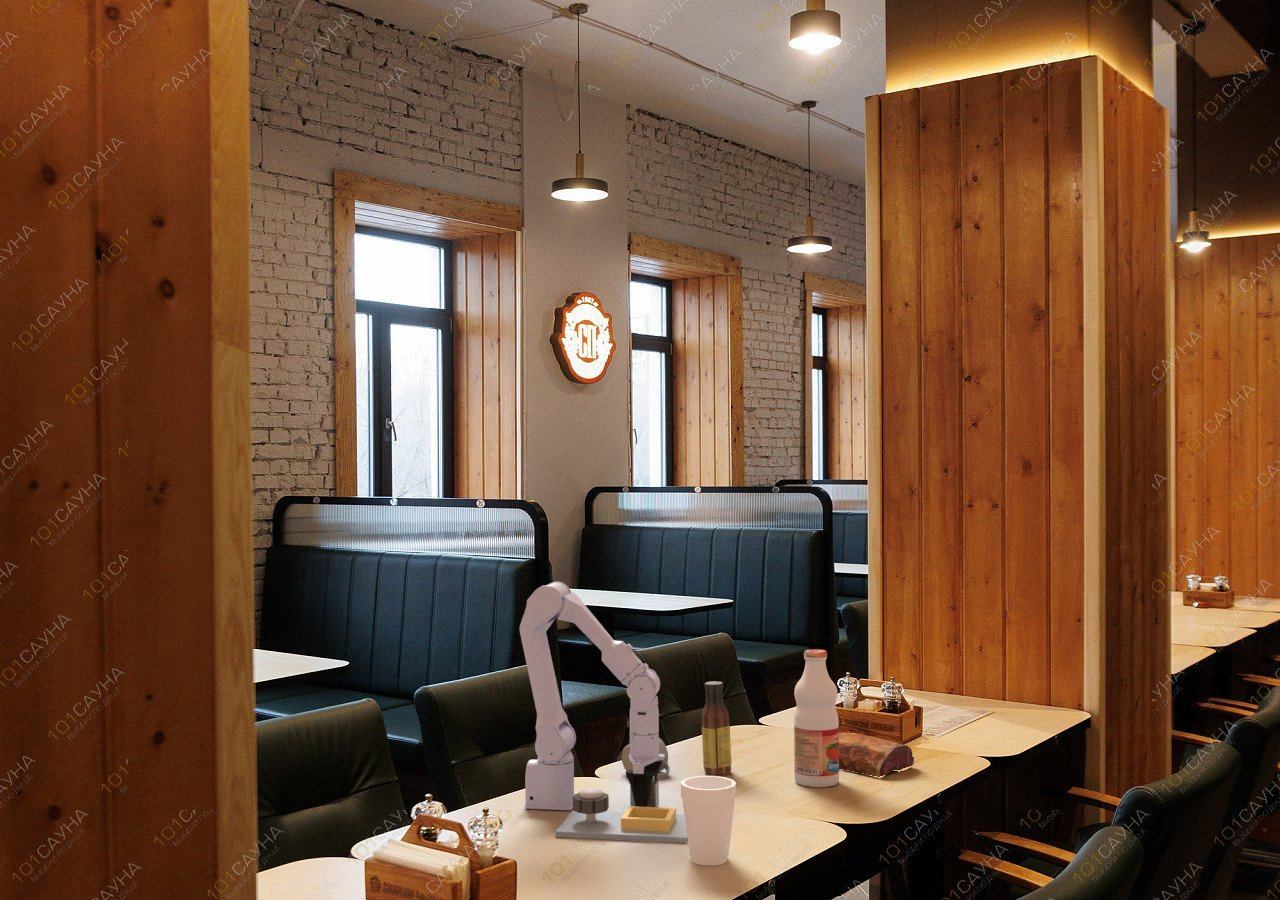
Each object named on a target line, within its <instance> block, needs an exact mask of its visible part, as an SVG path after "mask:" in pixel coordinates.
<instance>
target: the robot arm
mask: <svg viewBox="0 0 1280 900" xmlns="http://www.w3.org/2000/svg"><path fill="white" fill-rule="evenodd" d="M556 618H557V620H559V621H564V622H568V623H573V624H575V625H576V627H577V628H578V629H579V630H580V631H581V632H582V633H583V634H584V635H585V636H586V637H587V638H588V639H589V640H590V641H591V642H592V643H593V645H595V646H596V647H597V648H598V650H599V651H601V661H602V663H603V664H604V665H605V666H606V668H608V669H609V671H610V672H611V673H612V674H613V675H614V676H615V677H616V678H617V679H618V680H619V682H620V683H621V684H622V685H623V686H626V687H627V688H626V693H627V696H628V698H629V699H630V700H629V702H630V704H629V705H630V708H629V744H630V754H629V760H630V761H631V762H632V764H633V770H627V771H626V770H625V777H626V779H627V781H628V782H629V786H630V785H631V788H632V792H633V797H634V802H635V806H639V807H647V804H648V799H649V791H650V786H651V782H652V779H653V777H654V775H655V779H657V775H658V773H659V772H660V771H659V768H660V766H661V764H662V762H663V760H664V758H665V755H664V754H659V738H660V736H659V735H660V734H659V732H660V729H659V728H660V727H659V725H660V724H659V723H660V721H659V714H660V711H659V710H660V709H659V697H658V695H657V694H658V693H659V691H660V688H661V680H660V677H659V676H658V674H657V671H655V670H654V669H651V668H649V665H648V664H647V663H643V662H642V660H641V659H640V658H639V656H637V655H636V654H635V652H634V651H633V649H634V647H633V646H632V644H630V643H627V644H626V643H625V642H624V641H623V640H614V639H613V637H612V636H611V635H610V634H609V633H608V631H607V630H606V629H605V628H604V626H603V625H602V623H600V621H599V620H598V619H597V617H596V616H594V614H593V613H592V612H591V610H590V609H589V608H588V606H587V605H586V604H585V603H584V602H583V601H582V599H581V598H580V597H579V596H578V594H576V593H575V592H572V590H571V589H570V587H569V586H568V585H567V584H565V583H563V582H561V581H553V582H550V583H548V584H546V585H541V586H540V587H539V586H538V588H536V589H535V590H534V591H533V593H531V595H530V596H528V599H527V600H526V606H525V610H524V614H523V615H522V618H521V622H520V625H519V635H520V639H521V640H520V641H521V644H522V649H523V653H524V658H525V663H526V667H527V672H528V678H529V681H530V682H529V683H530V687H531V690H532V696H533V701H534V705H535V711H536V722H535V723H536V724H535V731H536V740H535V744H534V750H535V753H536V756H537V759H529V760H528V761H527V763H526V768H525V777H524V779H525V780H524V781H525V784H524V785H525V786H524V787H525V788H524V789H525V793H524V794H525V795H524V796H525V799H524V800H525V805H524V809H527V810H529V809H530V810H552V811H571V810H572V811H573V796H574V795H575V759H574V758H575V756H574V755H573V753H572V751H571V750H572V749H573V748H574V747H575V745H576V742H577V735H576V731H575V729H574V728H573V727H572V725H571V724H570V721H569V719H568V715H567V713H566V712H565V710H564V709H563V707H562V702H561V697H560V693H559V688H558V683H557V678H556V673H555V668H554V663H553V660H552V655H551V649H550V645H549V640H548V635H547V631H548V630H549V628H550V627H551V626H552V624H553V623H554V621H555V619H556Z"/></svg>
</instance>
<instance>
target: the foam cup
mask: <svg viewBox="0 0 1280 900" xmlns="http://www.w3.org/2000/svg"><path fill="white" fill-rule="evenodd" d="M680 798H681V800H682V806H683V807H682V808H683V813H684V815H685V822H686V830H687V837H688V841H687V844H688V850H689V856H690V861H692V863H694V864H696V865H700V866H710V867H711V866H719V865H723V864H725V863H727V861H729V860H728V859H729V854H730V845H731V837H732V836H731V835H732V827H733V818H734V809H735V801H736V798H737V782H736V781H735V780H734V779H732V778H729V777H724V776H720V775H698V776H691V777H687V778H685V779H683V780H682V781H681V782H680Z"/></svg>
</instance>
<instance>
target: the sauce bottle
mask: <svg viewBox="0 0 1280 900" xmlns="http://www.w3.org/2000/svg"><path fill="white" fill-rule="evenodd" d="M704 689H705V705H704V706H703V708H702V710H701V713H700V714H701V735H702V739H701V740H702V742H701V743H702V759H703V760H702V761H703V771H704V773H705V774H707V775H710V774H711V775H710V776H723V775H724V776H725V775H729V774H730V773H731V772H732V764H733V763H732V748H731V747H732V745H731V743H732V742H731V726H730V725H731V724H730V718H729V717H730V716H729V710H728V709H727V706H726V704H725V703H724V699H723V698H724V697H723V689H724V683H723V682H722V681H715V680H713V681H707V682H705V683H704Z"/></svg>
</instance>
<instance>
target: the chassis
mask: <svg viewBox="0 0 1280 900" xmlns="http://www.w3.org/2000/svg"><path fill="white" fill-rule="evenodd" d="M555 837H556V838H568V839H569V838H570V839H590V840H591V839H592V840H593V839H594V840H613V841H630V842H631V841H632V842H652V843H654V842H655V843H670V844H671V843H672V844H688V837H687V830H686V822H685V815H684V814H681V813H677V808H676V807H660V806H659V807H639V806H630V805H629V806H628V807H627V808H626V809H625V811H615V810H614V811H612V810H611V811H609V810H607V811H605V812H602V813H598V814H595V813H593V814H582V813H578V812H575V811H573V810H572V811H571V812H570V813H569V814H568V816H567V817H566V818H565V819H564V821H563V822H562V823H561V824H560V826H559V827H558V828H557V829H556V830H555Z"/></svg>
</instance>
